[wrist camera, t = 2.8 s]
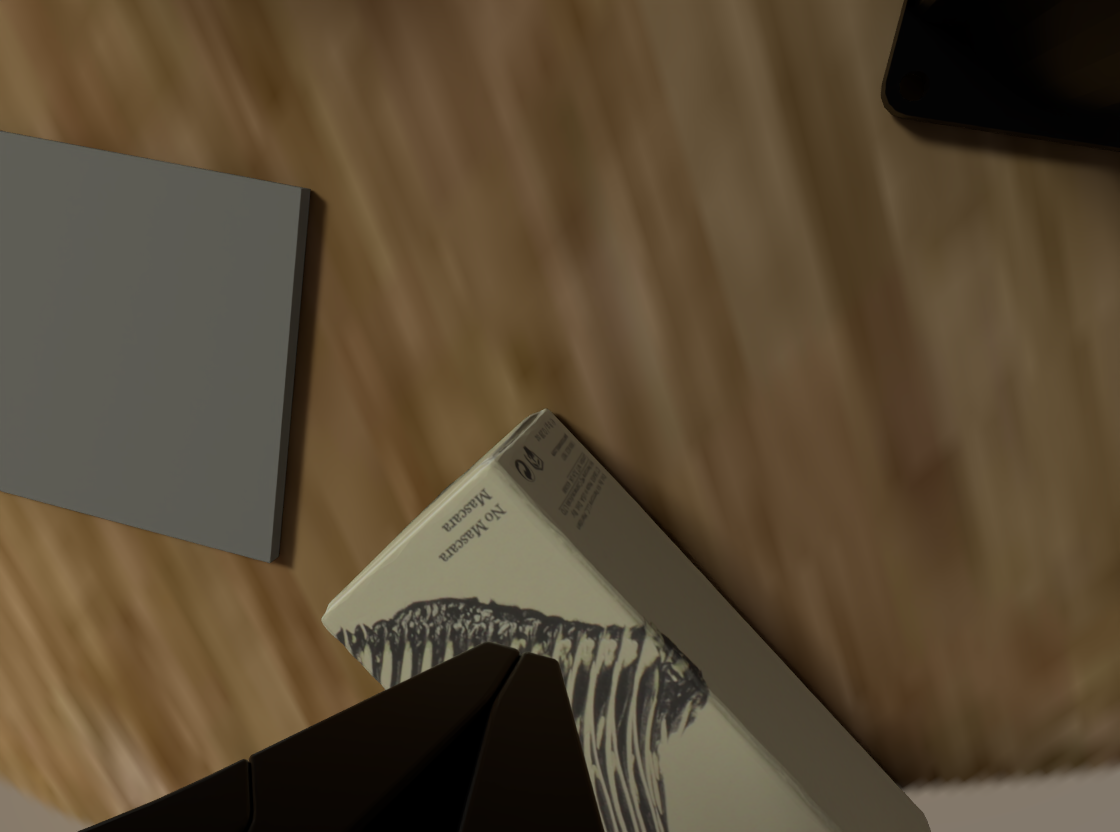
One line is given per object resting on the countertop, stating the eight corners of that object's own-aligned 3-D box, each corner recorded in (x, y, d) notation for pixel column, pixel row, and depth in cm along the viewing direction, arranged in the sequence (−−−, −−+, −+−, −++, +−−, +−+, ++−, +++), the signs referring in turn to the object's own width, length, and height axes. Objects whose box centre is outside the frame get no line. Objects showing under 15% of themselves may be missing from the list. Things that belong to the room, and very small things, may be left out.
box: (484, 448, 13) (1004, 985, 13) (542, 396, 17) (938, 806, 18) (299, 629, 15) (767, 1106, 15) (393, 541, 19) (758, 916, 19)
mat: (310, 188, 17) (301, 188, 17) (278, 556, 20) (269, 562, 19) (-37, 123, 19) (-52, 121, 18) (-28, 475, 21) (-41, 479, 21)
